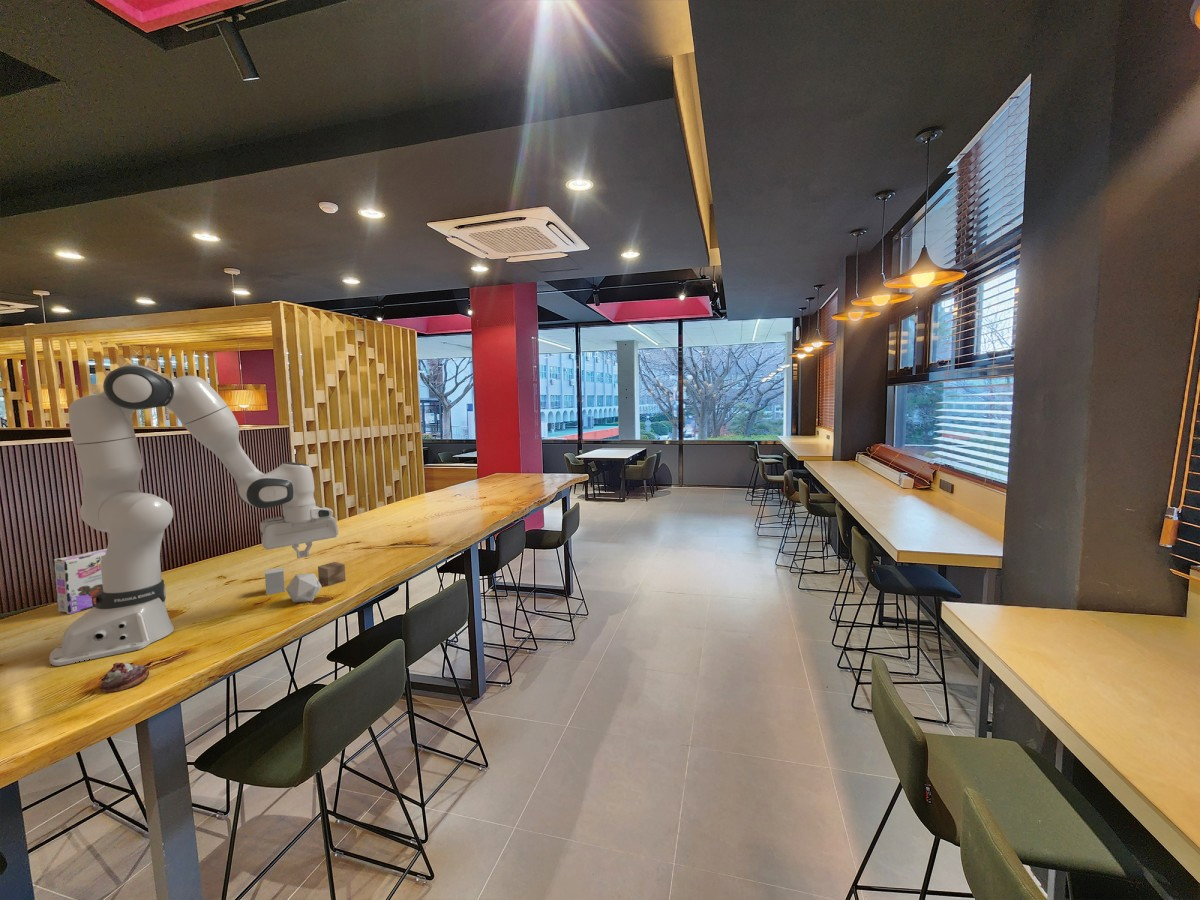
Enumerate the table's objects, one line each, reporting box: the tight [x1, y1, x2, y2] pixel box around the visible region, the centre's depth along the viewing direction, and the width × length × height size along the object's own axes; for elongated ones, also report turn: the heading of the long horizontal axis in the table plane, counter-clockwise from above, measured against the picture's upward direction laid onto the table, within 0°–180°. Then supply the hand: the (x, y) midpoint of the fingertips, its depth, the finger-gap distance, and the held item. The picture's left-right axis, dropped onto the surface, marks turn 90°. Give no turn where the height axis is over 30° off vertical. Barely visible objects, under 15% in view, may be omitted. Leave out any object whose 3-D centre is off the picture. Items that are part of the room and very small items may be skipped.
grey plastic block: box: [264, 566, 286, 596], centre depth 159 cm, size 5×5×7 cm
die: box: [285, 572, 322, 604], centre depth 151 cm, size 8×9×10 cm
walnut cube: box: [317, 561, 347, 587], centre depth 167 cm, size 6×6×6 cm
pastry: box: [99, 662, 150, 694], centre depth 105 cm, size 8×8×5 cm
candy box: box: [53, 548, 107, 615], centre depth 148 cm, size 14×6×16 cm, turn 161°
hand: (302, 556), depth 150 cm, fingers closed
